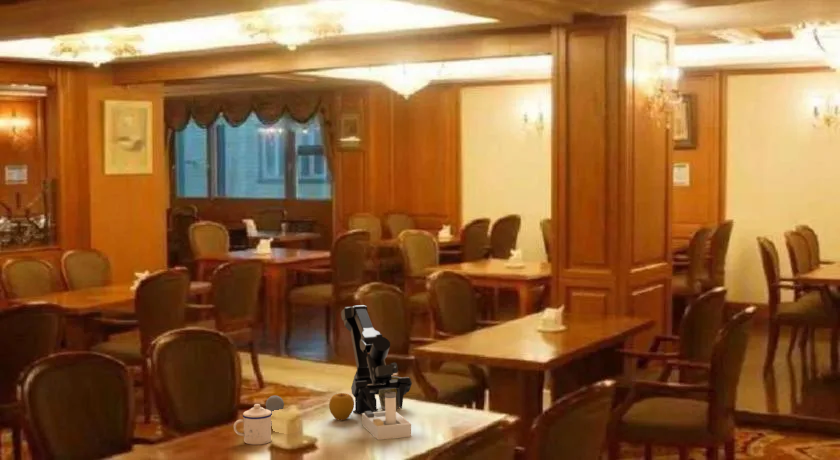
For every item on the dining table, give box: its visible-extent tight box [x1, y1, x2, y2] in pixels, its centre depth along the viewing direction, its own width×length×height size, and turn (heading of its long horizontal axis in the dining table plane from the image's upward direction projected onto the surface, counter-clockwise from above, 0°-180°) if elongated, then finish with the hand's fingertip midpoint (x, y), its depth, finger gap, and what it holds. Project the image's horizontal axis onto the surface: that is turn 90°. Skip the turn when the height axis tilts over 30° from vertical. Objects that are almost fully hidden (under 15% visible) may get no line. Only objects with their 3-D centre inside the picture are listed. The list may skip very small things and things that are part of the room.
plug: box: [384, 392, 397, 425], centre depth 350 cm, size 4×4×14 cm
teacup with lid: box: [233, 403, 273, 446], centre depth 345 cm, size 12×9×12 cm
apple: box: [328, 392, 355, 421], centre depth 371 cm, size 8×8×9 cm
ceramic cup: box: [378, 375, 401, 410], centre depth 385 cm, size 13×10×10 cm
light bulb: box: [265, 395, 285, 412], centre depth 364 cm, size 6×6×10 cm
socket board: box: [361, 410, 412, 441], centre depth 356 cm, size 19×11×5 cm, turn 17°
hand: (387, 409), depth 354 cm, fingers open, 9 cm apart
